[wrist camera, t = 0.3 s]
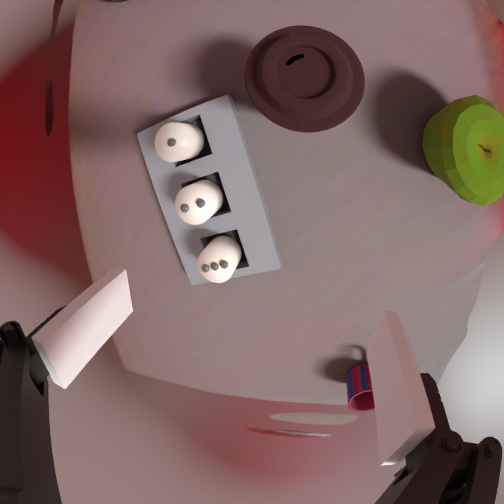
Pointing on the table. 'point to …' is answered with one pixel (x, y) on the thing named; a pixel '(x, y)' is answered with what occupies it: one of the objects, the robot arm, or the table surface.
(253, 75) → the coffee cup
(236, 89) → the table surface
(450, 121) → the apple
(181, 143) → the button
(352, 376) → the cup
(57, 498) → the robot arm
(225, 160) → the console
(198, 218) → the button
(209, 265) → the button
